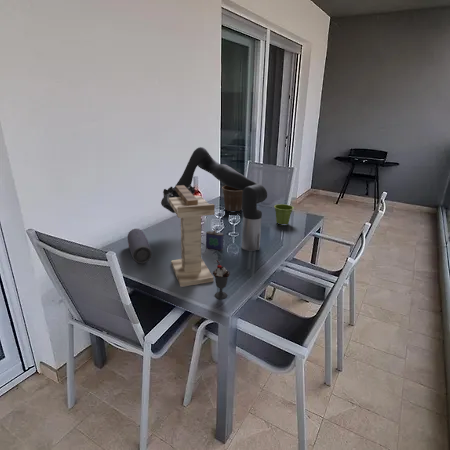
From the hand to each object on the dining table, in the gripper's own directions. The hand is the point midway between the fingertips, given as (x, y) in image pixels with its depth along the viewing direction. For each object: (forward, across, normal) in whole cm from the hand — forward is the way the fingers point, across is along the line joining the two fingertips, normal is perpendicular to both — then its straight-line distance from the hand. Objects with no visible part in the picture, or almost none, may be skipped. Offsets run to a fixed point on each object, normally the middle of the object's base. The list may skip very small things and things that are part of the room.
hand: (181, 188), depth 141 cm
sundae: (+15, +7, +48) cm, 51 cm away
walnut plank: (+6, 0, +6) cm, 9 cm away
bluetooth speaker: (-24, -20, +26) cm, 41 cm away
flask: (-20, +17, +28) cm, 39 cm away
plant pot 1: (-68, +49, 0) cm, 84 cm away
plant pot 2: (-39, +69, +17) cm, 81 cm away
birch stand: (-3, 0, +38) cm, 38 cm away
